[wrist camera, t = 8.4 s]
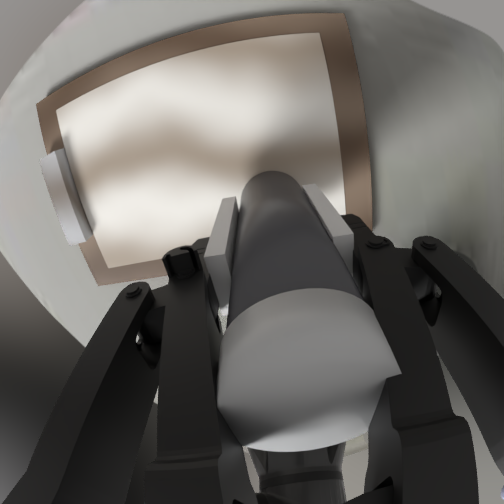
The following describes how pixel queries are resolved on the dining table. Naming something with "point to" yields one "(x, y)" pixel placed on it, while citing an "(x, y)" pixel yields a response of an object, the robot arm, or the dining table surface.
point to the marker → (296, 330)
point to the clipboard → (202, 135)
